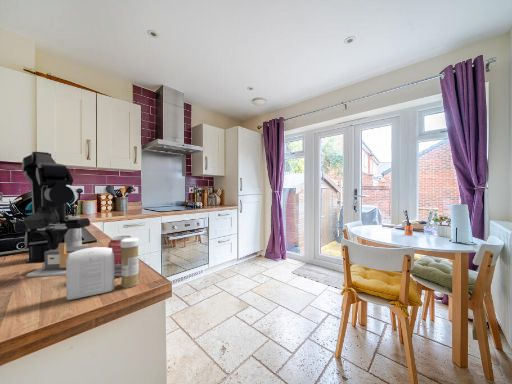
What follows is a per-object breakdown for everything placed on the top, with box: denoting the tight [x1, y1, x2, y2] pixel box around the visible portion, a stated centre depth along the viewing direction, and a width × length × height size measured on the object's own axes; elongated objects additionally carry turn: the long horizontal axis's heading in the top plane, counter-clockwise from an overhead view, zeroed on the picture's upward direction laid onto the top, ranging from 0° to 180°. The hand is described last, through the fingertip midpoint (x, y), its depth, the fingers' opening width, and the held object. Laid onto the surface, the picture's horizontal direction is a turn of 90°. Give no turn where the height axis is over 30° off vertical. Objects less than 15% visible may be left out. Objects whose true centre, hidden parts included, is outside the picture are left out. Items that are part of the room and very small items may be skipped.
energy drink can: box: [64, 215, 83, 247], centre depth 98 cm, size 6×6×15 cm
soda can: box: [107, 235, 132, 278], centre depth 71 cm, size 7×7×12 cm
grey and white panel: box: [26, 245, 92, 278], centre depth 76 cm, size 18×13×7 cm
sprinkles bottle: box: [120, 237, 140, 289], centre depth 62 cm, size 5×5×14 cm
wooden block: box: [58, 242, 70, 268], centre depth 72 cm, size 5×1×8 cm, turn 98°
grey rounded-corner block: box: [65, 246, 115, 301], centre depth 57 cm, size 10×4×12 cm, turn 123°
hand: (54, 249), depth 71 cm, fingers closed
